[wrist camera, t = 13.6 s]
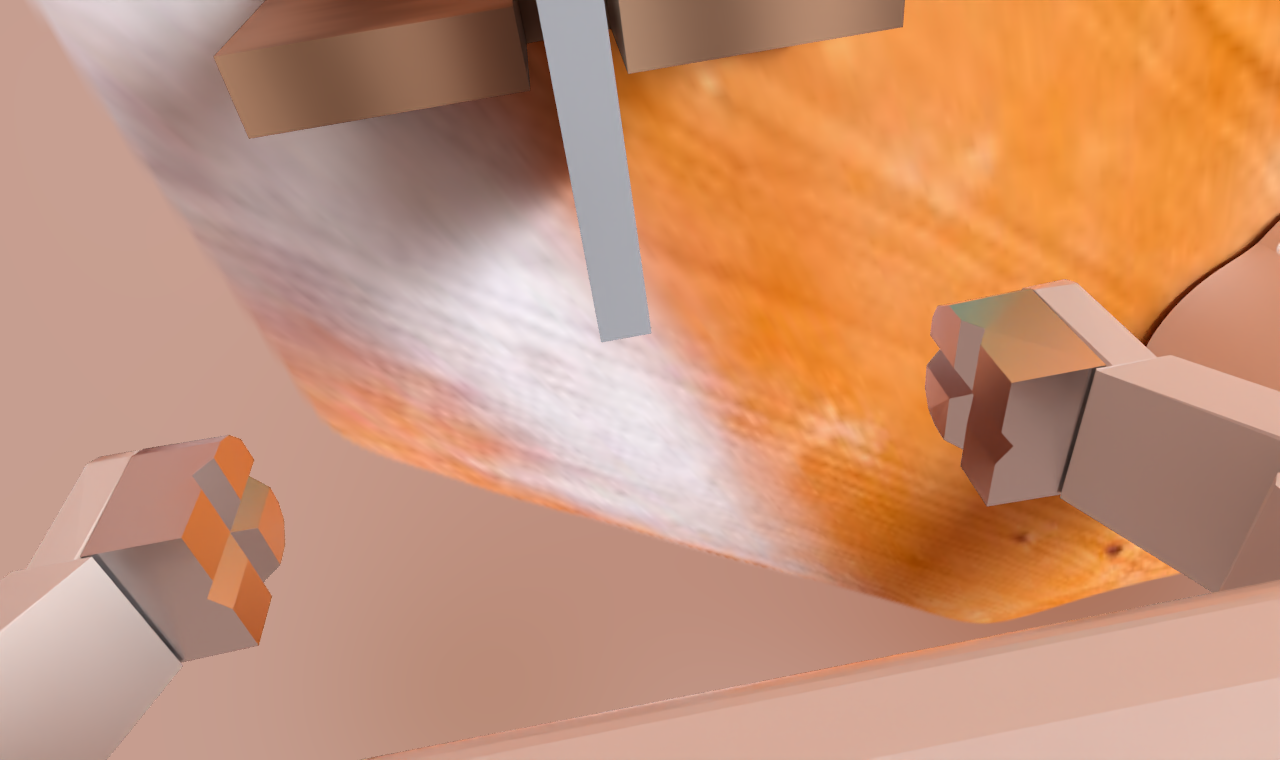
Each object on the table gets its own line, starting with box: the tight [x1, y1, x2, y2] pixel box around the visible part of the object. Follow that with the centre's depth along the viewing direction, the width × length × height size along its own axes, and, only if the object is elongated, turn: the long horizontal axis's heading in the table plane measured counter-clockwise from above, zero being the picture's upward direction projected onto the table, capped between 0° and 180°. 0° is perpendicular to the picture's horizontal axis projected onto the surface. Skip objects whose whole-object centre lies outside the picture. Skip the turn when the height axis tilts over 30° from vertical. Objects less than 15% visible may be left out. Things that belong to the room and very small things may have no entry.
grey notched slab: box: [536, 0, 651, 342], centre depth 26 cm, size 16×2×14 cm, turn 7°
